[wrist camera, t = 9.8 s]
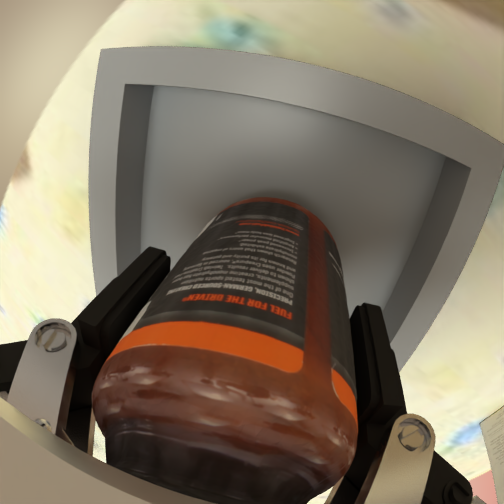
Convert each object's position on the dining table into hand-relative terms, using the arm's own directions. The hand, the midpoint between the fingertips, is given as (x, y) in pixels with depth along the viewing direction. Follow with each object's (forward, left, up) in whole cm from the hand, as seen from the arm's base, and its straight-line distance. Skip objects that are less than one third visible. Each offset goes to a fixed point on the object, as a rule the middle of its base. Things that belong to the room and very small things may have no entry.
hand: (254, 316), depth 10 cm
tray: (0, 0, -5) cm, 5 cm away
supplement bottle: (0, 0, -4) cm, 4 cm away
